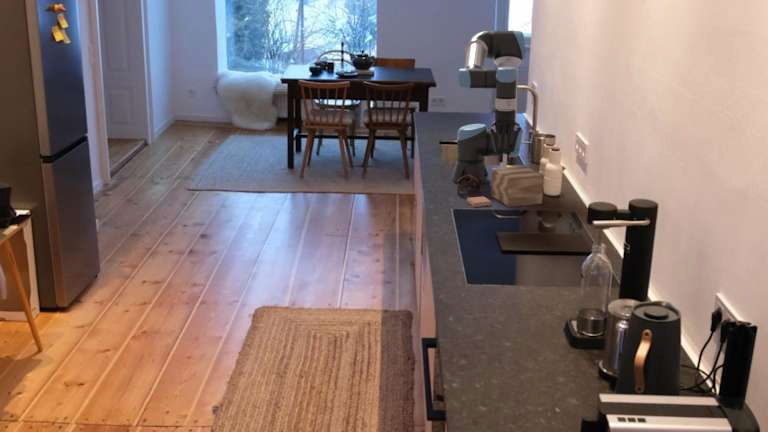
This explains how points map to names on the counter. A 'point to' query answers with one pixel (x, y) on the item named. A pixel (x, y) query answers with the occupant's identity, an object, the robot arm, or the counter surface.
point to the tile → (478, 201)
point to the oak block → (517, 186)
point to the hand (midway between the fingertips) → (503, 170)
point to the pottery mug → (468, 183)
